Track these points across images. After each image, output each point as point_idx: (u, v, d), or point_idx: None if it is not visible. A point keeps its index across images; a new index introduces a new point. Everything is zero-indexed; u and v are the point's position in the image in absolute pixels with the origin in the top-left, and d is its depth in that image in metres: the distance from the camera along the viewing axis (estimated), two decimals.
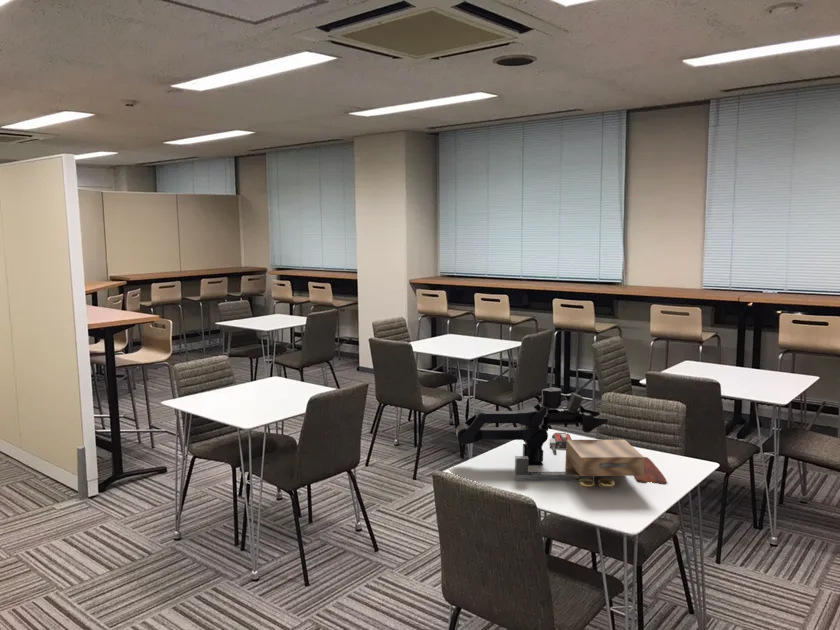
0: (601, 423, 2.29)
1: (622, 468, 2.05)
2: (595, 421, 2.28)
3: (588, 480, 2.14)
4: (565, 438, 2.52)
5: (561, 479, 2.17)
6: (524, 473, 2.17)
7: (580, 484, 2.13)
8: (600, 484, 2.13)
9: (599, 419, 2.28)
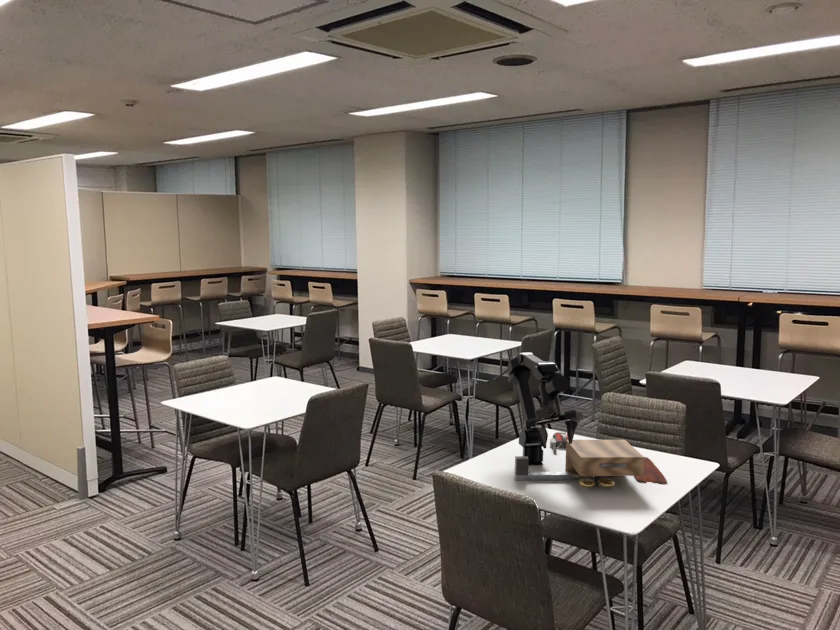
0: None
1: (622, 468, 2.05)
2: None
3: (588, 480, 2.14)
4: (565, 438, 2.52)
5: (561, 479, 2.17)
6: (524, 473, 2.16)
7: (580, 484, 2.13)
8: (600, 484, 2.13)
9: None
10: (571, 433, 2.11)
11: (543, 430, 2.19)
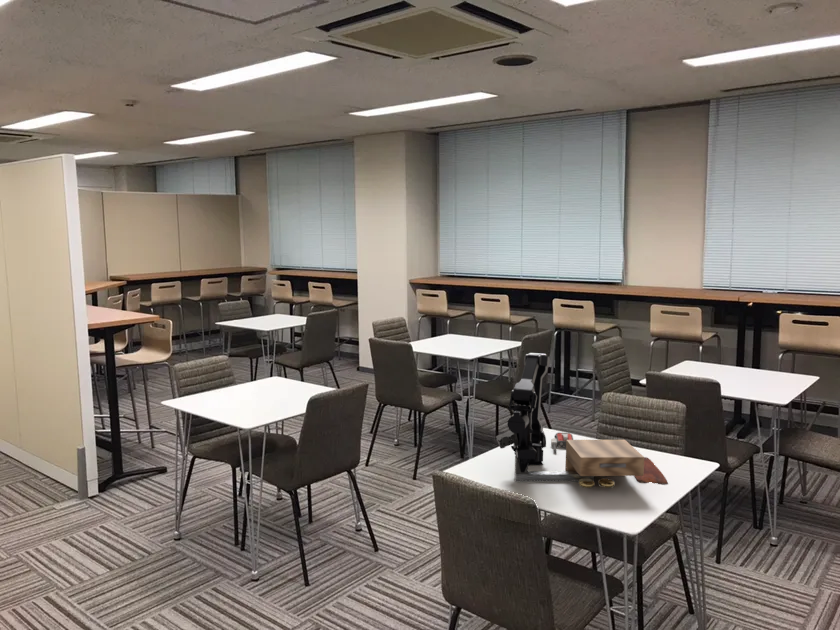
0: None
1: (622, 468, 2.05)
2: None
3: (588, 480, 2.14)
4: (566, 438, 2.52)
5: (561, 479, 2.17)
6: (524, 473, 2.17)
7: (580, 484, 2.13)
8: (600, 484, 2.13)
9: None
10: (522, 464, 2.15)
11: None
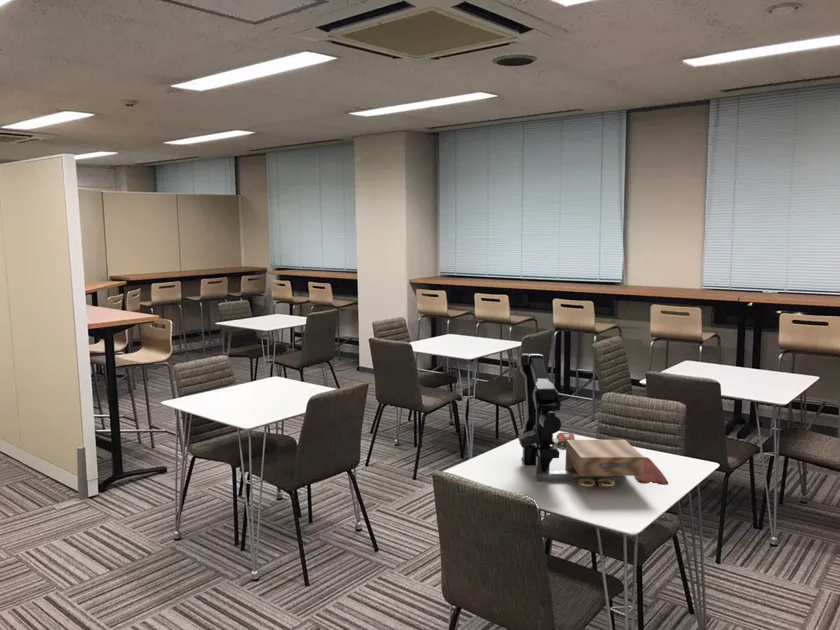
0: None
1: (622, 468, 2.05)
2: None
3: (588, 480, 2.14)
4: (567, 438, 2.52)
5: (582, 478, 2.17)
6: (545, 472, 2.17)
7: (580, 484, 2.13)
8: (600, 484, 2.13)
9: None
10: (543, 463, 2.15)
11: None
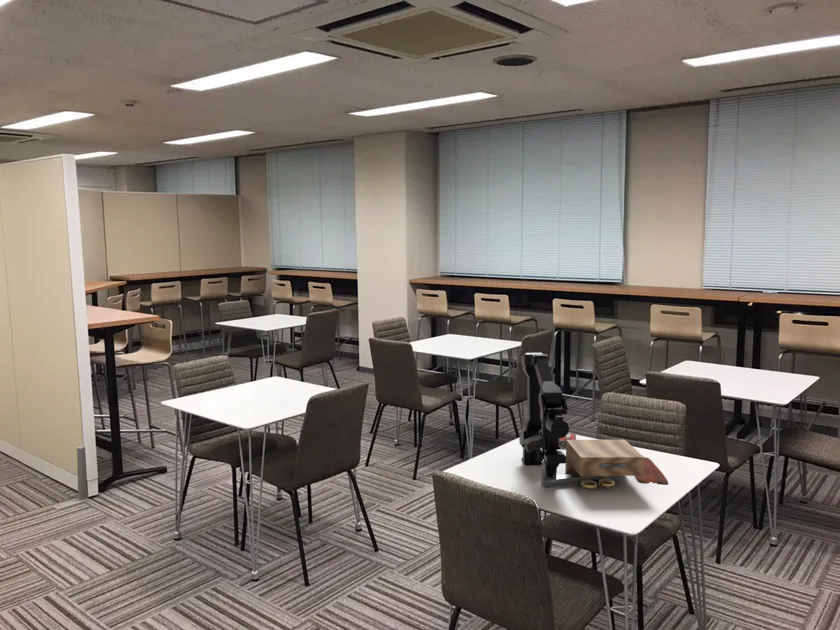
0: None
1: (622, 468, 2.05)
2: None
3: (590, 481, 2.13)
4: (568, 438, 2.52)
5: None
6: (552, 478, 2.12)
7: (582, 485, 2.11)
8: (601, 484, 2.12)
9: None
10: (550, 469, 2.10)
11: None
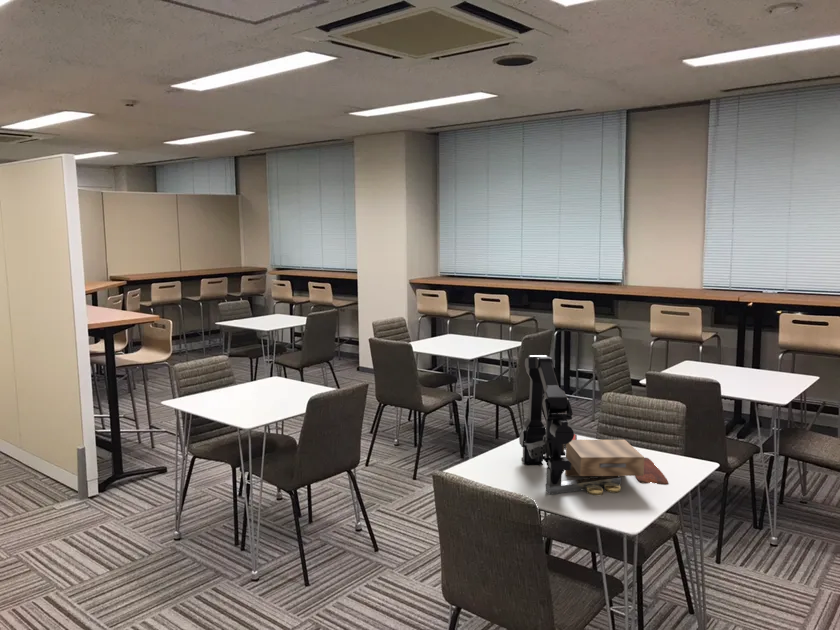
0: None
1: (622, 468, 2.05)
2: None
3: (596, 487, 2.08)
4: None
5: None
6: (557, 484, 2.06)
7: (589, 491, 2.06)
8: (607, 489, 2.08)
9: None
10: (554, 475, 2.04)
11: None
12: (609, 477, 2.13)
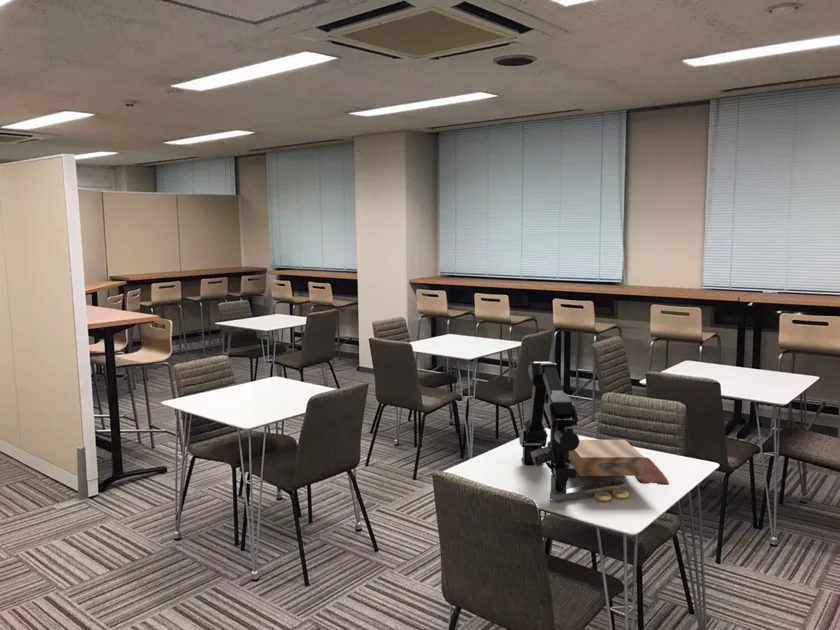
0: None
1: (622, 468, 2.05)
2: None
3: (604, 493, 2.03)
4: None
5: None
6: (562, 492, 2.00)
7: (597, 499, 2.00)
8: (616, 496, 2.02)
9: None
10: (559, 483, 1.97)
11: None
12: (614, 484, 2.07)
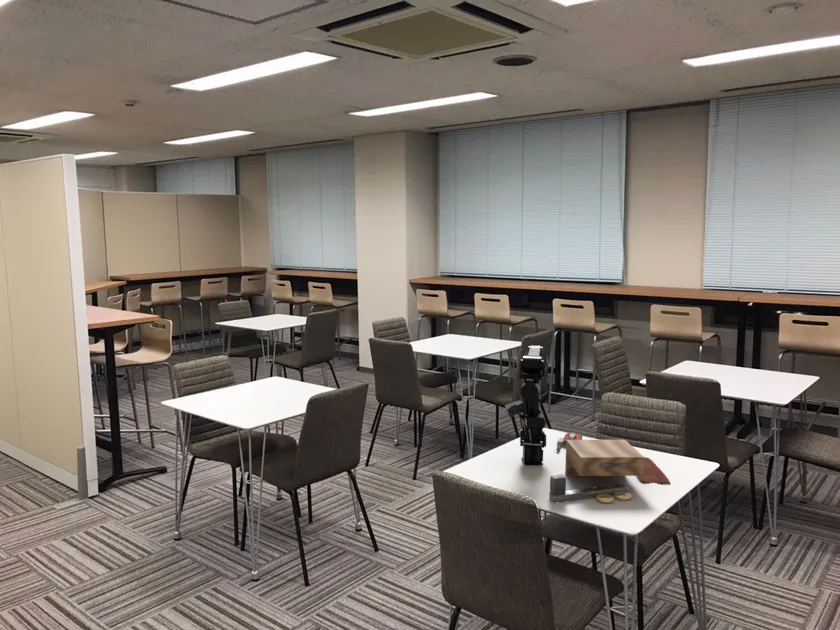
0: None
1: (622, 468, 2.05)
2: None
3: (606, 495, 2.02)
4: (572, 438, 2.52)
5: None
6: (561, 493, 2.00)
7: (600, 501, 1.99)
8: (619, 498, 2.01)
9: None
10: (532, 435, 2.13)
11: None
12: (615, 486, 2.06)
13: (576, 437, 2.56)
